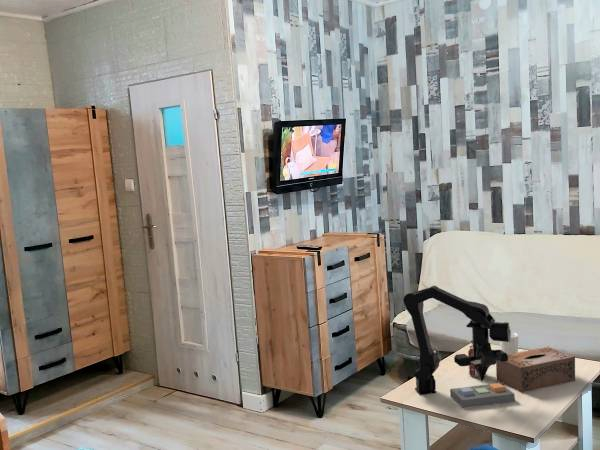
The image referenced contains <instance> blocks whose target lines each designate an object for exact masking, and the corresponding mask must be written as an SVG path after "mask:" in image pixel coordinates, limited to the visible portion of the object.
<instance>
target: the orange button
mask: <svg viewBox="0 0 600 450" xmlns="http://www.w3.org/2000/svg"><path fill="white" fill-rule="evenodd" d="M500 383H501V382H497V383H495V382H494V383H490V384H489V383H488V384H489V389H490V390H491V391H493V392H502V391H505V387H506V386H505V387H504V384H502V383H501V384H502V385H501V384H500Z"/></svg>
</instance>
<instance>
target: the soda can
mask: <svg viewBox="0 0 600 450" xmlns="http://www.w3.org/2000/svg"><path fill="white" fill-rule="evenodd" d="M471 351H473V344H471V345H469V349H468V350H467V356H473V354H472V353H471ZM468 374H469V375H470V376H471V377H473V378H479V376H478V374H477V372H476V369H475V368H474V366H473V365H472V364H470V365H469V366H468ZM479 379H480V378H479Z"/></svg>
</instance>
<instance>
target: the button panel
mask: <svg viewBox="0 0 600 450" xmlns="http://www.w3.org/2000/svg"><path fill="white" fill-rule="evenodd" d="M499 383H500V384H501V385H503V383H501V382H499ZM503 386H504V385H503ZM469 387H470V388H471V389H472V390H474V389H477V388H485V389H487V390H488V391H489V393H486V394H478V393H476V392H475V391H474V395H469V396H462V395H461V394H460V393H459V388H460V387H454V388H450V389H449V394H450V396H449V397H450V398H451V399H452V400H453V401H455V403H456V404H458V406H459V407H461V408H462V409H467V408H473V407H474V408H475V407H481V406H482V407H483V406H490V405H496V404H497V405H498V404H506V403H514V402H516V401H515V399H516V398H515V392H513V391H511V389H509V388H508V387H506V385H505V386H504V387H505V391H502V392H493V391H491V390H490V389H489V383H488V384H481V385H472V386H469Z"/></svg>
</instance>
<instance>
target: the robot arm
mask: <svg viewBox="0 0 600 450" xmlns="http://www.w3.org/2000/svg"><path fill="white" fill-rule="evenodd" d="M429 299H434V300H436V301H438V302H440V303H442V304H444V305H446V306H448V307H451V308H453V309H455V310H457V311H459V312H461V313H463V315H464V316H465V317H466V318H467V319H470V320H469V322H468V323H467V324H466V326H465V327H466V328H471V329H472V330H471V331H472V332H471V333H472V336H471V337H472V340H470V344H471V345H473V351H471V353H472V354H473V356H468V354H466V353H459V354H458V353H457V354H455V356H454V358H453V361H454V363H455V364H457V365H458V366H459V367H469V365H470V364H472V365H473V366H474V368H475V369H476V372H477V374H478V376H479V380H480V382H483V381H484V380H485V378H486V375H487V372H488V370H489V368H490V366H496V361H497V360H499V361H500V362H505V361H508V354H507V353H505V352H504V351H502V350H501V349H492V345H491V343H490V340H492V342H493V341H494V342H495V341H496V342H500V341H504V342H510V337H511V331H512V330H511V327H510V323H509V322H506V321H504V322H500V321H499V322H497V321H496V319H495V318H494V317H493V316H492V314H491V313H490V310H489V307H488V306H487V305H486V304H484V303H480V302H476V301H469V300H466V299H464V298H462V297H460V296H457V295H455V294H452V293H451V292H448V291H446V290H444V289H442V288H439V287H438V286H437V285H431V286H429V287H426V288H422V289H420V290H417V289H413V290H411V291H410V292H407V294H405V295H404V297H403V299H402V300H403V305H404V306H405V308H406V311H407V313H408V314H409V315H410V317H411V320H412V324H413V328H414V333H415V336H416V341H417V345H418V348H419V359H418V360H419V361H418V362H419V368H417V370H416V371H415V372H414V374H413V375H414V379H415V386H416V387H415V388H414V390H415V391H416V392H417V393H418V394H419V395H420V396H424V395H425V396H426V395H431V394H437V391H436V388H437V387H436V385H437V383H436V379H435V376H434V373H435V372H436V371H437V370H438V369H439V367H440V363H441V360H440V358H439V352H438V351H435V352H434V350H433V348H432V345H431V341H430V336H429V334H428V329H427V325H426V324H427V323H426V320H425V318H424V302H425V301H427V300H429ZM489 339H490V340H489Z"/></svg>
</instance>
